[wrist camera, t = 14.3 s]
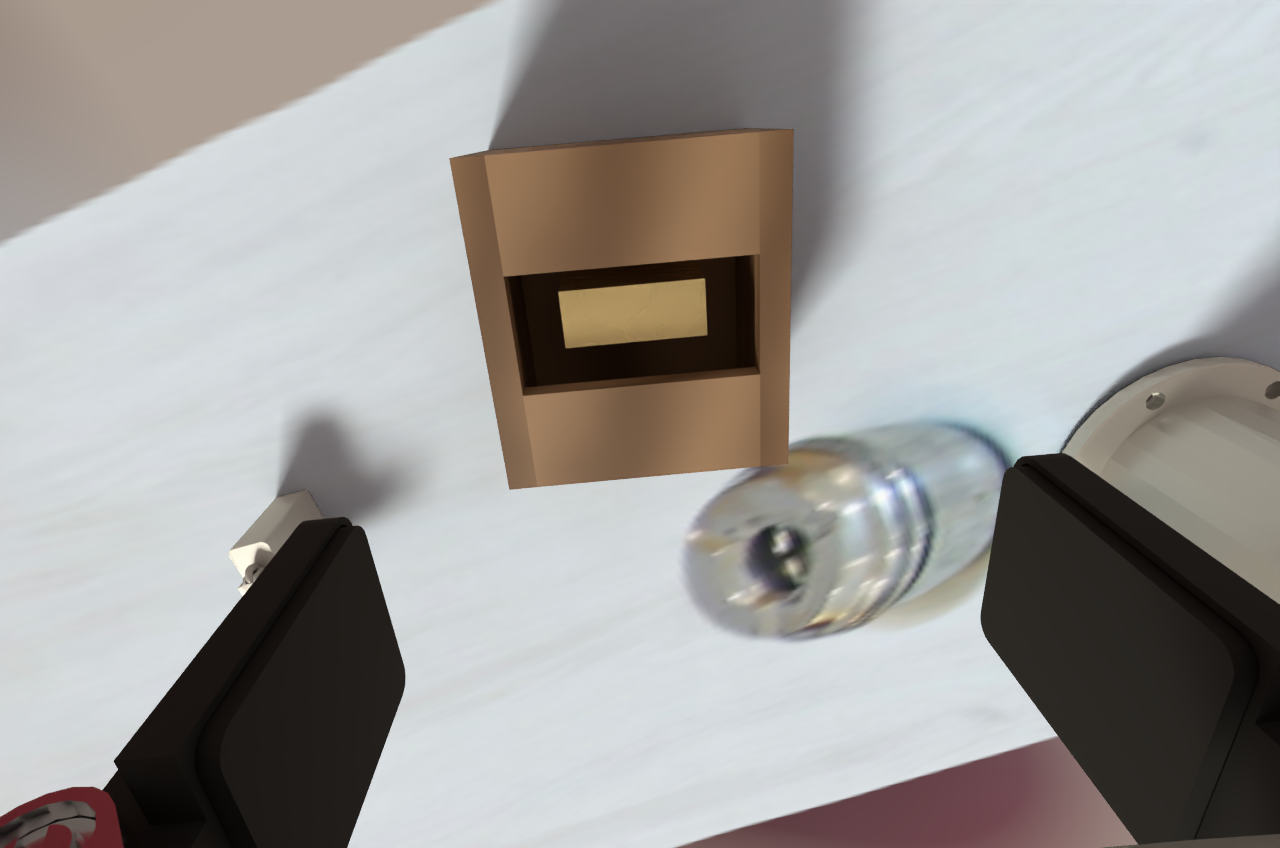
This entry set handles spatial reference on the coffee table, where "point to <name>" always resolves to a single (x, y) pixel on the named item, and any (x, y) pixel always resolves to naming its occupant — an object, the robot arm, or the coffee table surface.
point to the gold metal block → (632, 303)
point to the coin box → (622, 236)
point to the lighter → (271, 534)
